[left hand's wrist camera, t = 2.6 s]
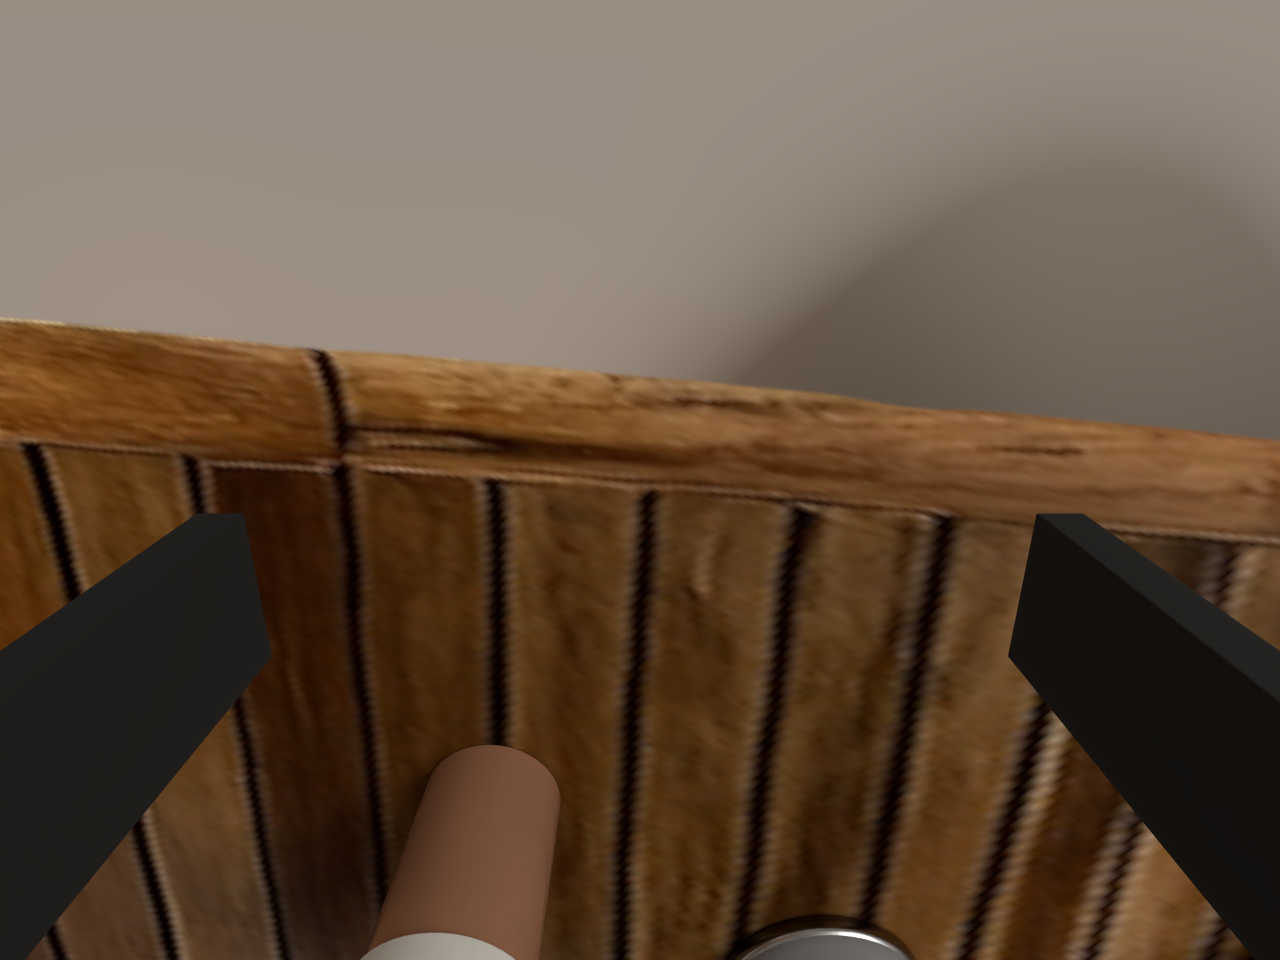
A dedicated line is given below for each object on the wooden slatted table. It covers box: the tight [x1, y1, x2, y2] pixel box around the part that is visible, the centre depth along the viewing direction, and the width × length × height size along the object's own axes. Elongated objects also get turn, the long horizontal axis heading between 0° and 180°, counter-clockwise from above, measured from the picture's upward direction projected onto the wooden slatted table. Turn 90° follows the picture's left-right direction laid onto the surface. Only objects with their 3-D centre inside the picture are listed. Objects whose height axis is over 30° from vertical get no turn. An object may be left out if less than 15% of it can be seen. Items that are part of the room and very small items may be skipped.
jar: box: [364, 745, 561, 960], centre depth 43 cm, size 9×9×15 cm
